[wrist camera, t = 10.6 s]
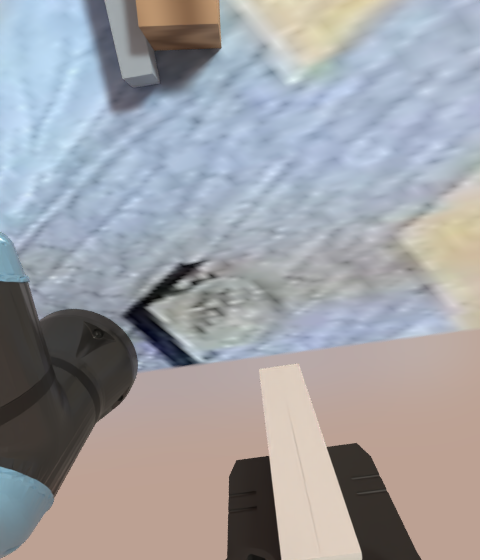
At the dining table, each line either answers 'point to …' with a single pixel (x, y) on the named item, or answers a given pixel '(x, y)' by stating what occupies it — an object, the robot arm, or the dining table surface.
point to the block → (180, 23)
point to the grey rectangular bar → (131, 44)
